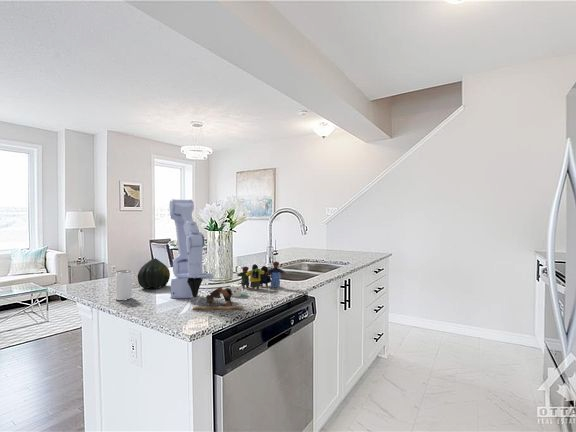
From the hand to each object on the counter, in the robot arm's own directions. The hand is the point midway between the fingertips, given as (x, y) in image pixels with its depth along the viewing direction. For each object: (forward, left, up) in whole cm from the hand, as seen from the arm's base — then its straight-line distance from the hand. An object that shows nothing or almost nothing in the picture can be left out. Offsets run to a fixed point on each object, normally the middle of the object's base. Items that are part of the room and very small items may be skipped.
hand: (195, 296), depth 134 cm
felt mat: (+16, +13, -3) cm, 21 cm away
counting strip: (+11, -8, -3) cm, 14 cm away
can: (-33, +7, -3) cm, 34 cm away
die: (+15, +12, -2) cm, 19 cm away
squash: (-29, +29, -3) cm, 41 cm away
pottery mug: (+11, -2, -3) cm, 12 cm away
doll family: (+25, +27, -3) cm, 37 cm away
